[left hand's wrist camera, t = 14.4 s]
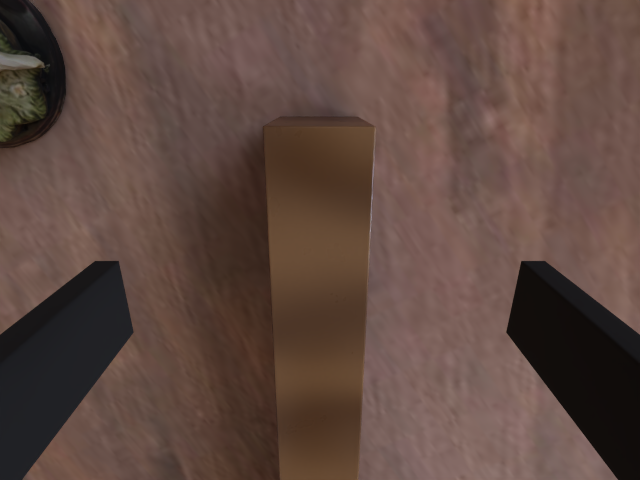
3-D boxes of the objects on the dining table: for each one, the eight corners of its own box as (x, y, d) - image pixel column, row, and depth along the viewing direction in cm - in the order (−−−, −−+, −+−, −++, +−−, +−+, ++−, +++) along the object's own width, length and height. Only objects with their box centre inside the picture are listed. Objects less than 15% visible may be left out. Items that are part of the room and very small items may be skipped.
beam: (279, 116, 24) (262, 125, 17) (358, 116, 24) (376, 126, 17) (295, 607, 42) (290, 716, 35) (341, 606, 42) (346, 715, 35)
